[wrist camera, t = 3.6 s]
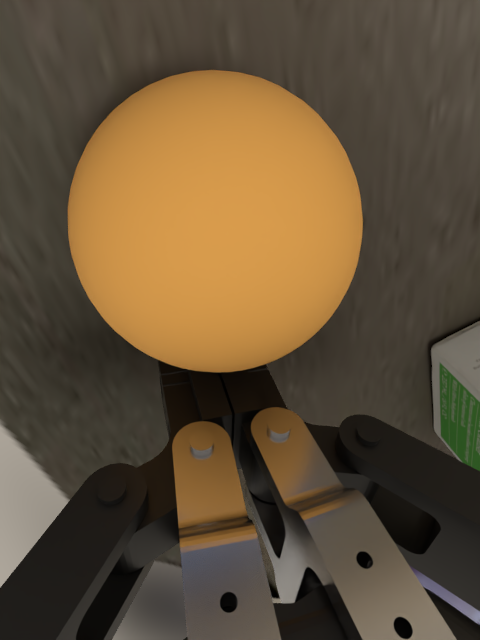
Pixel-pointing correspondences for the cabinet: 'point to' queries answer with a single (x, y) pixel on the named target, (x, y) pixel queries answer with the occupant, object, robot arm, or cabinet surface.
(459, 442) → the skincare box
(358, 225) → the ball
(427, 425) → the cabinet surface
